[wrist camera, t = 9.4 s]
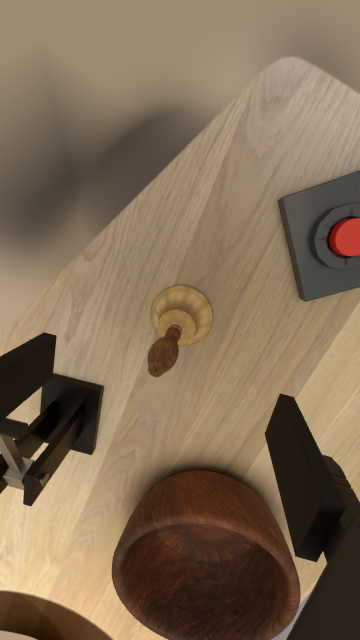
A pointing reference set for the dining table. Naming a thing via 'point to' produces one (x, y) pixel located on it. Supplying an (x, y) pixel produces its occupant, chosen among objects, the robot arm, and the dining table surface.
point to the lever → (14, 452)
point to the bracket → (58, 430)
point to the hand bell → (177, 325)
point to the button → (346, 237)
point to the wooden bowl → (206, 562)
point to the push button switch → (321, 236)
